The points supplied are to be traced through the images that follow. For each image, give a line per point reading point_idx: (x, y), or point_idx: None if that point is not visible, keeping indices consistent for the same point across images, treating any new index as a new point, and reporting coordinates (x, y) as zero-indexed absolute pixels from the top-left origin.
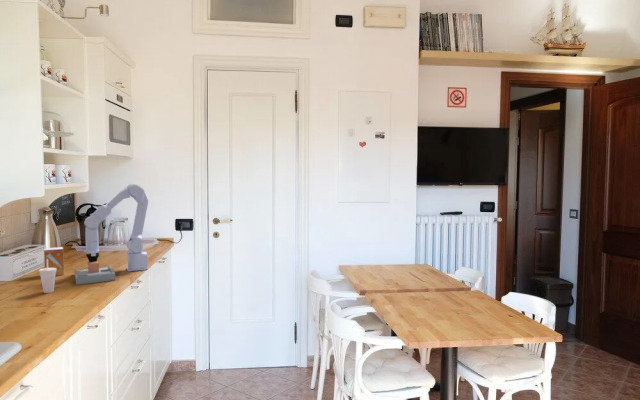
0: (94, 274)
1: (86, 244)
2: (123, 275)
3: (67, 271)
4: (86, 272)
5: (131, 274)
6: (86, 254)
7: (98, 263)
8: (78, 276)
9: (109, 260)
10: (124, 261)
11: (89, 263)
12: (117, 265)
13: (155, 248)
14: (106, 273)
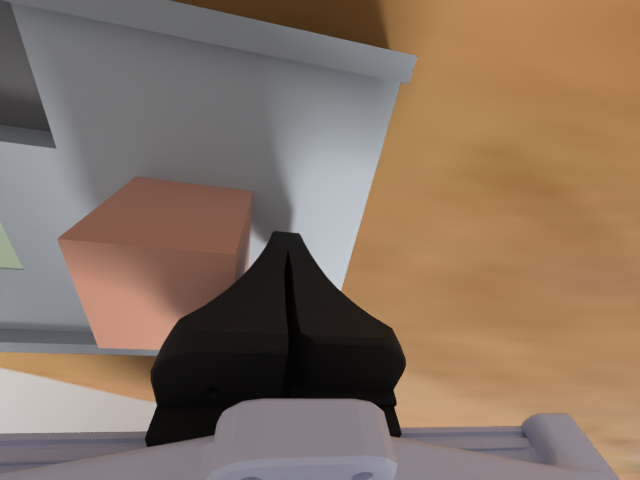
0: (27, 212)
1: None
2: (118, 357)
3: (632, 23)
4: (190, 163)
5: (131, 386)
6: (371, 350)
7: (99, 337)
8: (28, 23)
9: (622, 355)
10: (513, 395)
11: (93, 256)
12: (449, 366)
13: (617, 472)
14: (51, 301)
